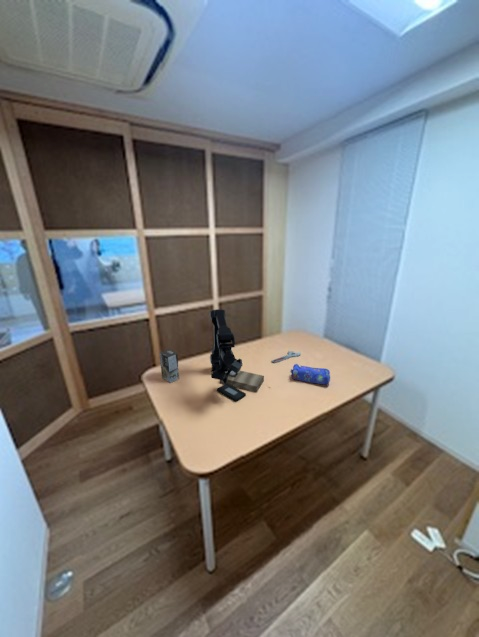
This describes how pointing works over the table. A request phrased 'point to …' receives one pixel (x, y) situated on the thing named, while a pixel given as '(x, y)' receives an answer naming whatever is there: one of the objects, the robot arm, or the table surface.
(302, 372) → the pencil case
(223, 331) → the robot arm
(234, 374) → the steel peg
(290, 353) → the adjustable wrench
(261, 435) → the table surface
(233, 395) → the vhs tape
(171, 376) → the coffee box
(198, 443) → the table surface
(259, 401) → the table surface
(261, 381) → the hitch block
